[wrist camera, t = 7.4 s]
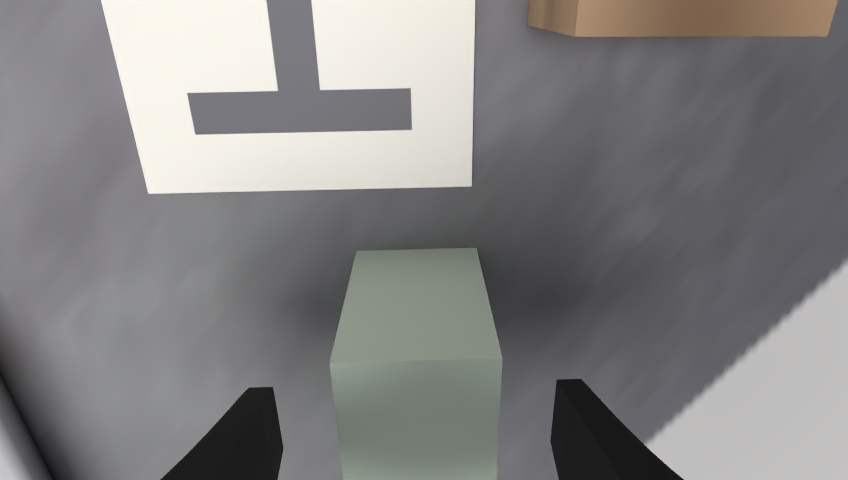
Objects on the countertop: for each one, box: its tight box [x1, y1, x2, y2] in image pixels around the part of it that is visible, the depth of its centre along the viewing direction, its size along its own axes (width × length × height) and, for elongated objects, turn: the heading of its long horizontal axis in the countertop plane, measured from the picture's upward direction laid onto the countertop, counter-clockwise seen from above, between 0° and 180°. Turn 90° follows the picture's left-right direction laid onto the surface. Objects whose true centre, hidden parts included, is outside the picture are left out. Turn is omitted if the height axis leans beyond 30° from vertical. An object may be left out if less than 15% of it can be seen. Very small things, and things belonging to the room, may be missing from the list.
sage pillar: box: [329, 248, 503, 480], centre depth 16 cm, size 4×4×6 cm
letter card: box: [101, 0, 475, 194], centre depth 15 cm, size 10×10×1 cm
